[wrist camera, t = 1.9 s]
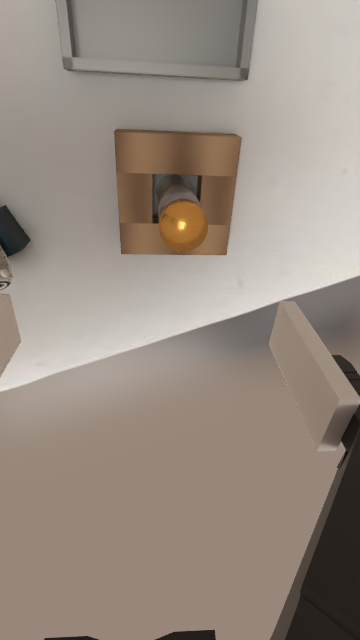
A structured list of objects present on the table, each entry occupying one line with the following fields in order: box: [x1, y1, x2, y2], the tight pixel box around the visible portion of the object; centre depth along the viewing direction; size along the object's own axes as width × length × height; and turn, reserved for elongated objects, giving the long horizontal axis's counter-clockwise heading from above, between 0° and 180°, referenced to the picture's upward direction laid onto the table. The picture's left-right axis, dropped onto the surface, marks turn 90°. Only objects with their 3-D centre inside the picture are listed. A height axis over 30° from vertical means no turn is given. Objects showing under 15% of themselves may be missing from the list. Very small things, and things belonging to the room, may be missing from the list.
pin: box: [157, 174, 208, 252], centre depth 32 cm, size 4×4×12 cm
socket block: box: [114, 129, 242, 255], centre depth 36 cm, size 12×12×3 cm
